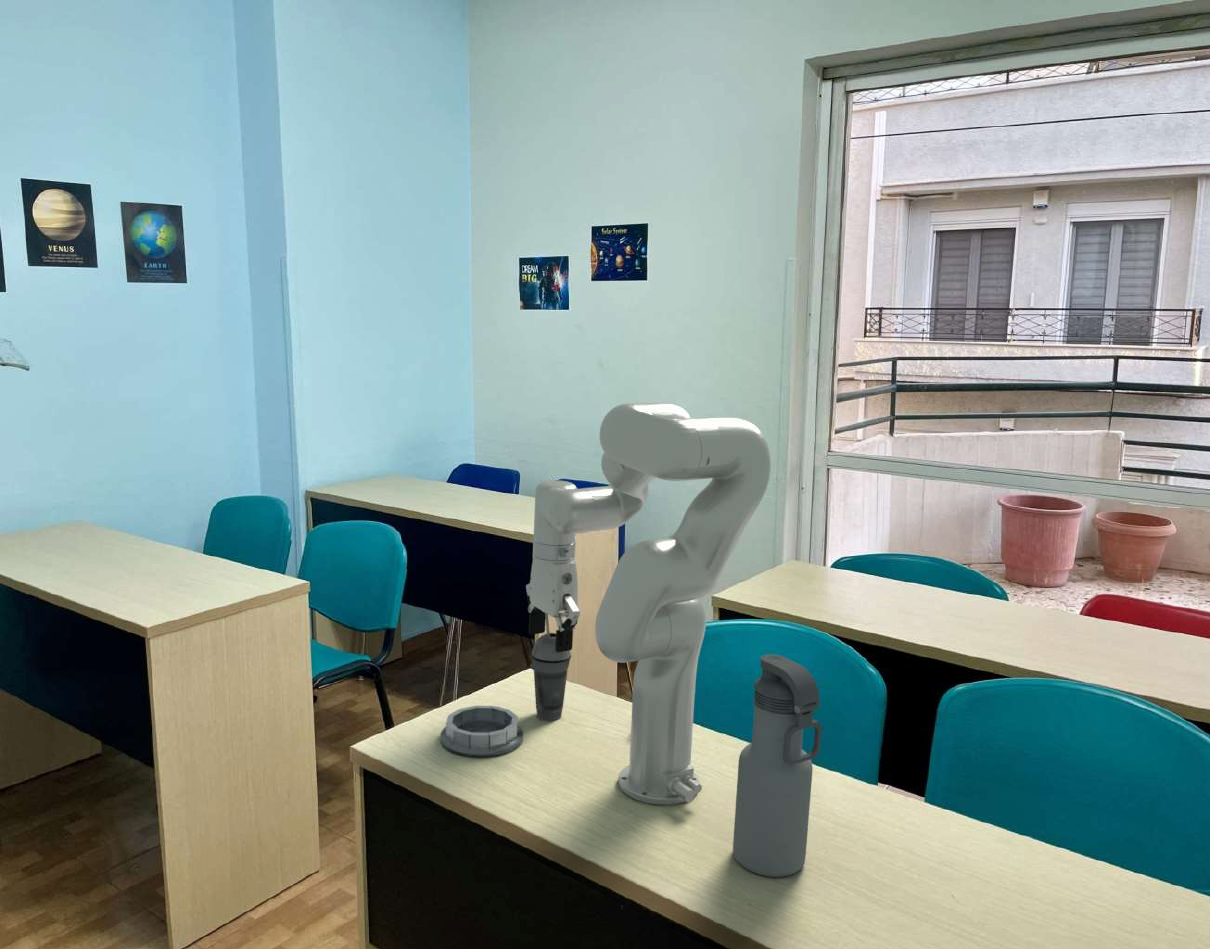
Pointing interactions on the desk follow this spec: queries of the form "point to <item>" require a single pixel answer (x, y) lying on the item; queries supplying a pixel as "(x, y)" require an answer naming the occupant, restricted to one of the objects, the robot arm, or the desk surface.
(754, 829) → the water bottle
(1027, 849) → the desk surface
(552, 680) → the beverage cup
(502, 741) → the base
